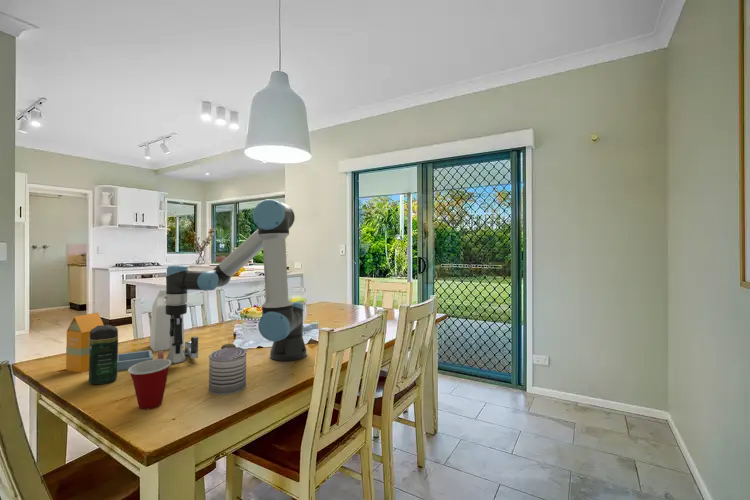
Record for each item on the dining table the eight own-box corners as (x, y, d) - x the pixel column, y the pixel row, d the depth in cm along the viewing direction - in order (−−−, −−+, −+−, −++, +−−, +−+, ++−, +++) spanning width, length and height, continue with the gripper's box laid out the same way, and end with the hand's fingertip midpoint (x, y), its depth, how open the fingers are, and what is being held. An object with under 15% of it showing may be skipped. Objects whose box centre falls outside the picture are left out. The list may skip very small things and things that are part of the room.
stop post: (163, 362, 146) (163, 352, 146) (157, 363, 145) (158, 352, 145) (163, 361, 148) (163, 351, 148) (157, 361, 147) (157, 351, 147)
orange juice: (65, 370, 136) (66, 315, 135) (90, 363, 144) (91, 311, 144) (81, 372, 133) (81, 317, 133) (105, 365, 142) (106, 313, 141)
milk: (178, 341, 177) (179, 287, 177) (184, 347, 169) (185, 290, 168) (149, 345, 170) (150, 289, 170) (153, 351, 161) (154, 291, 161)
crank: (184, 349, 158) (184, 331, 158) (194, 348, 160) (194, 330, 160) (189, 359, 145) (189, 338, 145) (200, 357, 147) (200, 337, 147)
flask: (189, 359, 151) (189, 334, 151) (178, 364, 144) (178, 339, 144) (172, 358, 152) (173, 334, 152) (161, 363, 145) (161, 338, 145)
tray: (152, 365, 142) (153, 357, 142) (114, 371, 135) (114, 362, 135) (151, 357, 152) (151, 350, 152) (115, 362, 145) (115, 354, 145)
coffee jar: (118, 382, 125) (119, 327, 125) (88, 387, 120) (89, 330, 120) (116, 374, 132) (117, 322, 132) (88, 378, 128) (89, 324, 127)
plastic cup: (120, 407, 106) (120, 365, 106) (159, 395, 115) (160, 356, 115) (138, 417, 100) (138, 373, 100) (178, 403, 109) (178, 363, 109)
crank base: (198, 355, 157) (198, 351, 157) (182, 357, 153) (182, 353, 153) (196, 351, 162) (196, 348, 162) (181, 353, 158) (181, 350, 158)
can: (253, 386, 123) (253, 350, 123) (222, 398, 113) (223, 359, 113) (231, 379, 129) (232, 345, 129) (201, 389, 120) (201, 352, 120)
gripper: (162, 300, 156) (161, 350, 156) (168, 309, 135) (167, 367, 135) (182, 299, 160) (181, 348, 160) (191, 308, 140) (190, 364, 140)
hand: (175, 357), depth 148 cm, fingers open, 13 cm apart
